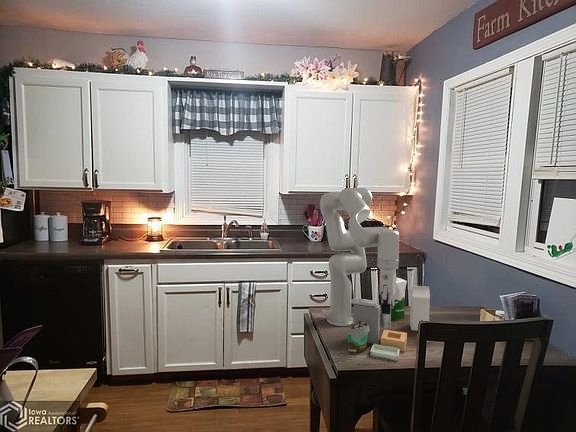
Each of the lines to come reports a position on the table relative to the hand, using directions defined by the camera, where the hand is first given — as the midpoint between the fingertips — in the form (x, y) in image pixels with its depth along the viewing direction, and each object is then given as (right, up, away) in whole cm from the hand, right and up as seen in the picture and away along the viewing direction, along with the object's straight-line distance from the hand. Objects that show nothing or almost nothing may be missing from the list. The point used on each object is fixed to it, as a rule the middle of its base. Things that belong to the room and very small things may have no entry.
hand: (386, 311), depth 143 cm
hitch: (0, -16, +12) cm, 20 cm away
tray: (0, -17, +2) cm, 17 cm away
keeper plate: (-6, 0, +13) cm, 14 cm away
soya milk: (+14, -13, +41) cm, 45 cm away
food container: (-9, -16, +6) cm, 19 cm away
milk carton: (+21, -14, +27) cm, 37 cm away
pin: (0, -6, +1) cm, 6 cm away
